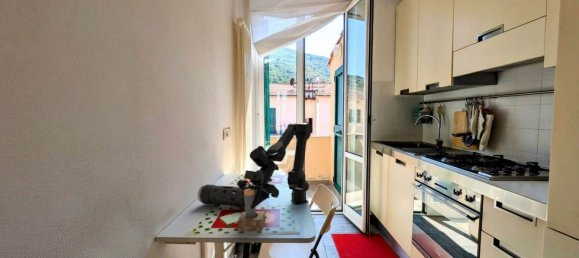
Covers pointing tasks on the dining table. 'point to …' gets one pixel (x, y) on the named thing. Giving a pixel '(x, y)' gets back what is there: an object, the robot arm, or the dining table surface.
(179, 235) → the dining table surface
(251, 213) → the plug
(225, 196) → the muzzle brake
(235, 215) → the mat
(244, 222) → the socket block
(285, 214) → the dining table surface
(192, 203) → the dining table surface
